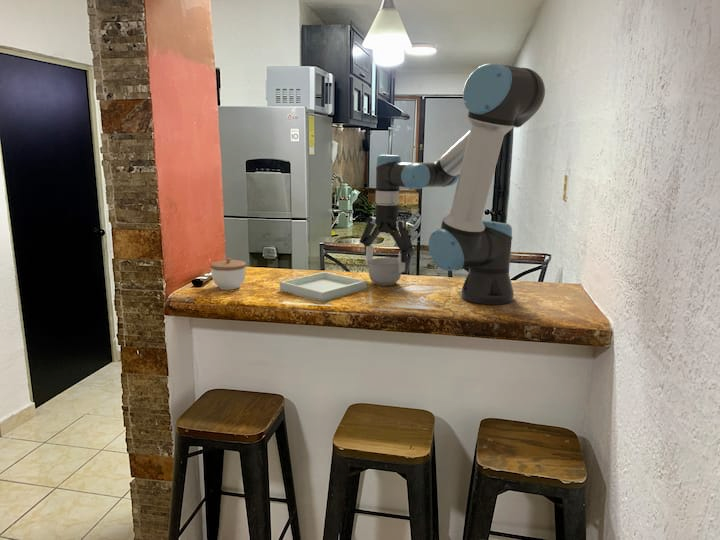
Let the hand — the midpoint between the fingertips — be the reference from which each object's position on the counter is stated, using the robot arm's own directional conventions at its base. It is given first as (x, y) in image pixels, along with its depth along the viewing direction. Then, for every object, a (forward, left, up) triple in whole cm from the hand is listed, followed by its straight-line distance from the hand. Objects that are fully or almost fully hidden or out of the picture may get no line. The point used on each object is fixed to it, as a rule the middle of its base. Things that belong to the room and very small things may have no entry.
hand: (384, 268), depth 177 cm
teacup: (0, 0, -5) cm, 5 cm away
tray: (+8, +21, -5) cm, 23 cm away
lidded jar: (+32, +39, -5) cm, 50 cm away
